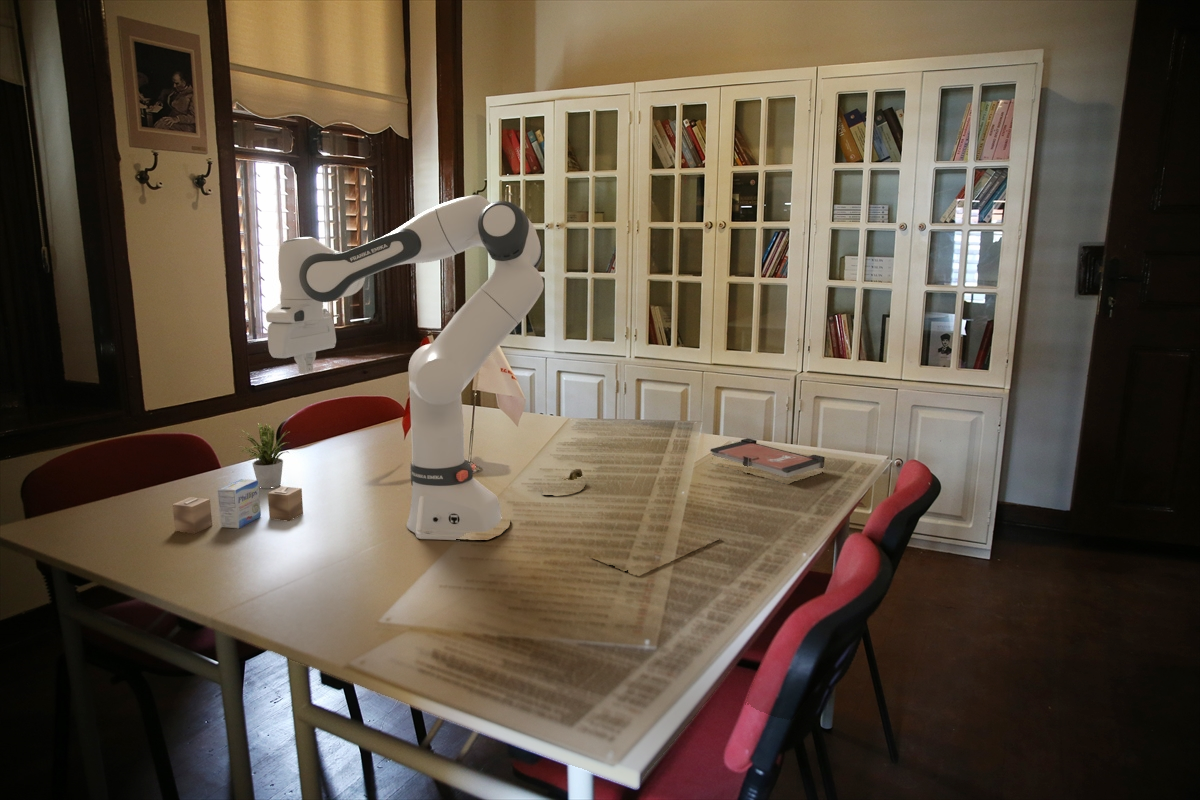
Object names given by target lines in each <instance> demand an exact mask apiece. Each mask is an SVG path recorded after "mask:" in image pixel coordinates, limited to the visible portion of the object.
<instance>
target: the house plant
mask: <svg viewBox="0 0 1200 800" xmlns="http://www.w3.org/2000/svg"><path fill="white" fill-rule="evenodd" d="M257 425H258V426H257V427H258V429H259V431H258V432H259V439H260V443H258V441H257V440H256V439H254V437H253V436H252V435H251V434H250V433H249V432H247V431H245V430H243V429H240V431H242V432H243V433H244V434H246V435H247V438H246V440H248V441H249V442H250V443H251V444H253V445H254V446H250V447H248V448H247V447H246V446H243V445H241V446H239V447H240V448H241V447H242V448H244V449H243V450H241V451H240V453H239V454H241V453H244V452H246V451H247V452H248V453H251V454H250V455H249V459H251V458H253V457H256V458H255V459H256V460H254V461H253V462H252V468H253V471H254V474H255V480H257V481H258V486H259V487H261V488H260V489H262V488H271V487H276V486H278V487H280V486H281V485H280V484H282V475H283V474H282V473H283V466H284V465H283V464H284V459H282V458H280V456H281V455H282V454H285V453H289V454H290V452H289V451H288V450H287V451H282V449H283V448H282V447H281V446H282V445H284V444H289V443H290V442H289V441H288V442H287V441H286V442H285V441H284V442H283V443H280V442H281V440H282V439H283V438H284V437H285V436H286V431H285V432H283V434H282V435H281V436H280V438H279V439H278V440H277V441H276V442H274V441H275V436H276V434H275V428H274V427H273V426H272V427H271V423H269V424H268V423H265V425H264V427H263V426H262V424H261V423H259V422H257ZM234 430H236V431H239V429H237V428H236V429H234ZM288 433H290V431H288V432H287V434H288ZM238 437H239V438H242V437H246V436H242V435H240V436H239V435H238ZM254 449H256V450H257V451H258V452H257V451H256V450H254ZM281 451H282V452H281ZM279 485H280V486H279ZM276 488H277V487H276ZM271 489H272V488H271Z"/></svg>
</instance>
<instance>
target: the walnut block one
mask: <svg viewBox="0 0 1200 800" xmlns="http://www.w3.org/2000/svg"><path fill="white" fill-rule="evenodd" d="M172 514H173V523H174V531H175V532H177V531H180V532H179V533H185V532H187V534H193V533H194V535H196V534H198V533H200V532H202V531H204V530H206V529H209V528H210V526H211V527H212V526H213V518H212V517H213V516H212V507H211V499H210V498H202V497H193V496H189V497H187V498H184V499H182V500H180V501H177V502H175V503H172ZM195 533H196V534H195Z"/></svg>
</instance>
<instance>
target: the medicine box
mask: <svg viewBox="0 0 1200 800" xmlns="http://www.w3.org/2000/svg"><path fill="white" fill-rule="evenodd" d="M217 497H218V507H219V519H220V526H221V528H226V529H238V530H239V528H240V529H241V528H243V527H245V526H247V525H248V523H249V524H250V523H252V522H254V521H255V519H256V520H257V519H259V518H261V517H262V515H261V513H262V512H261V501H260V500H261V499H260V488H259V486H258V481H257V480H256V479H249V478H248V479H247V478H244V479H239V480H236V481H235V482H232V483H230V484H228V485H226V486H223V487H222V488H219V489H217ZM253 520H254V521H253ZM246 524H247V525H246ZM244 525H245V526H244Z"/></svg>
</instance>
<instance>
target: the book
mask: <svg viewBox="0 0 1200 800" xmlns="http://www.w3.org/2000/svg"><path fill="white" fill-rule="evenodd" d="M709 450H710V452H712V453H711V454H712V455H714V456H717V457H721V458H725V459H728V460H731V461H735V462H738V463H742V464H743V465H744V466H747V467H748V466H752V467H755V468H758V469H761V470H763V471H767V472H770V473H773V474H776V475H779V476H783V477H790V476H793V475H797V474H801V473H804V472H807V471H811V470H814V469H818V468H823V467H824V468H825V456H821V455H817V454H812V455H808V456H807V455H804V454H800V453H796V452H792V451H787V450H783V449H779V448H776V447H771V446H767V445H764V444H760V443H757V440H755V439H753V438H744V439H741V440H740V441H737V442H733V443H729V444H726V445H720V446H717V447H714V448H710V449H709Z"/></svg>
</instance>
